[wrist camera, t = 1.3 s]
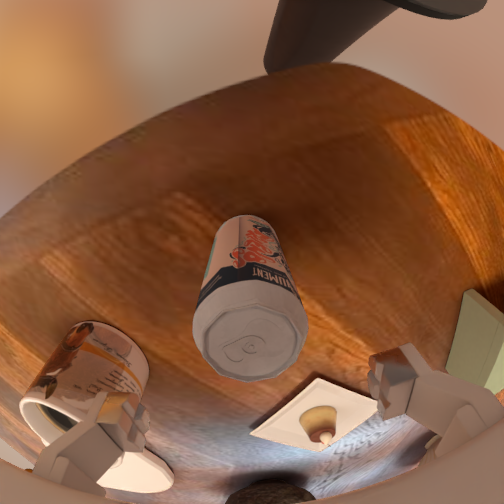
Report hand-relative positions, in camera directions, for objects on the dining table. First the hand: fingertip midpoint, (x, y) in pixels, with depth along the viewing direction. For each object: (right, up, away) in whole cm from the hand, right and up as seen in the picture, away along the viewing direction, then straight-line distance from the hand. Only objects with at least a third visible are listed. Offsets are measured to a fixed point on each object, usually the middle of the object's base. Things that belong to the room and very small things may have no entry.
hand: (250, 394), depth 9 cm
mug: (-16, -6, +17) cm, 24 cm away
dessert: (+8, -15, +21) cm, 27 cm away
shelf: (+36, -3, +18) cm, 40 cm away
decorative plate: (-26, -30, +26) cm, 47 cm away
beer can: (0, +5, +13) cm, 14 cm away
